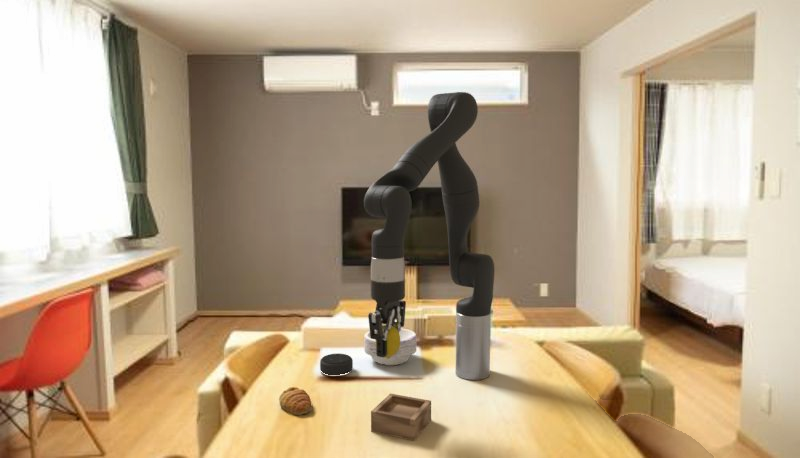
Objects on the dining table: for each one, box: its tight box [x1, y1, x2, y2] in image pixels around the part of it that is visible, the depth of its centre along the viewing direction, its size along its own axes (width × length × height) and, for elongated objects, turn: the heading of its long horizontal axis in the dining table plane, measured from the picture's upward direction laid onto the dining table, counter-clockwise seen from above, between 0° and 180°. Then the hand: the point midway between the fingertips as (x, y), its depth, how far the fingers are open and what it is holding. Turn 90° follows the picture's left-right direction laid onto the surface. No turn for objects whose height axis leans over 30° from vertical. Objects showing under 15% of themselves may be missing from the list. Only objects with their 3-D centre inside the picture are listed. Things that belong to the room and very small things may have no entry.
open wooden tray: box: [370, 393, 432, 441], centre depth 120 cm, size 10×10×4 cm
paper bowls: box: [363, 327, 418, 366], centre depth 160 cm, size 15×15×8 cm
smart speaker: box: [319, 353, 354, 375], centre depth 152 cm, size 9×9×4 cm
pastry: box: [278, 386, 313, 416], centre depth 129 cm, size 9×7×4 cm
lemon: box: [375, 324, 400, 359], centre depth 122 cm, size 6×6×8 cm
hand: (388, 351), depth 122 cm, fingers closed on lemon, 5 cm apart
